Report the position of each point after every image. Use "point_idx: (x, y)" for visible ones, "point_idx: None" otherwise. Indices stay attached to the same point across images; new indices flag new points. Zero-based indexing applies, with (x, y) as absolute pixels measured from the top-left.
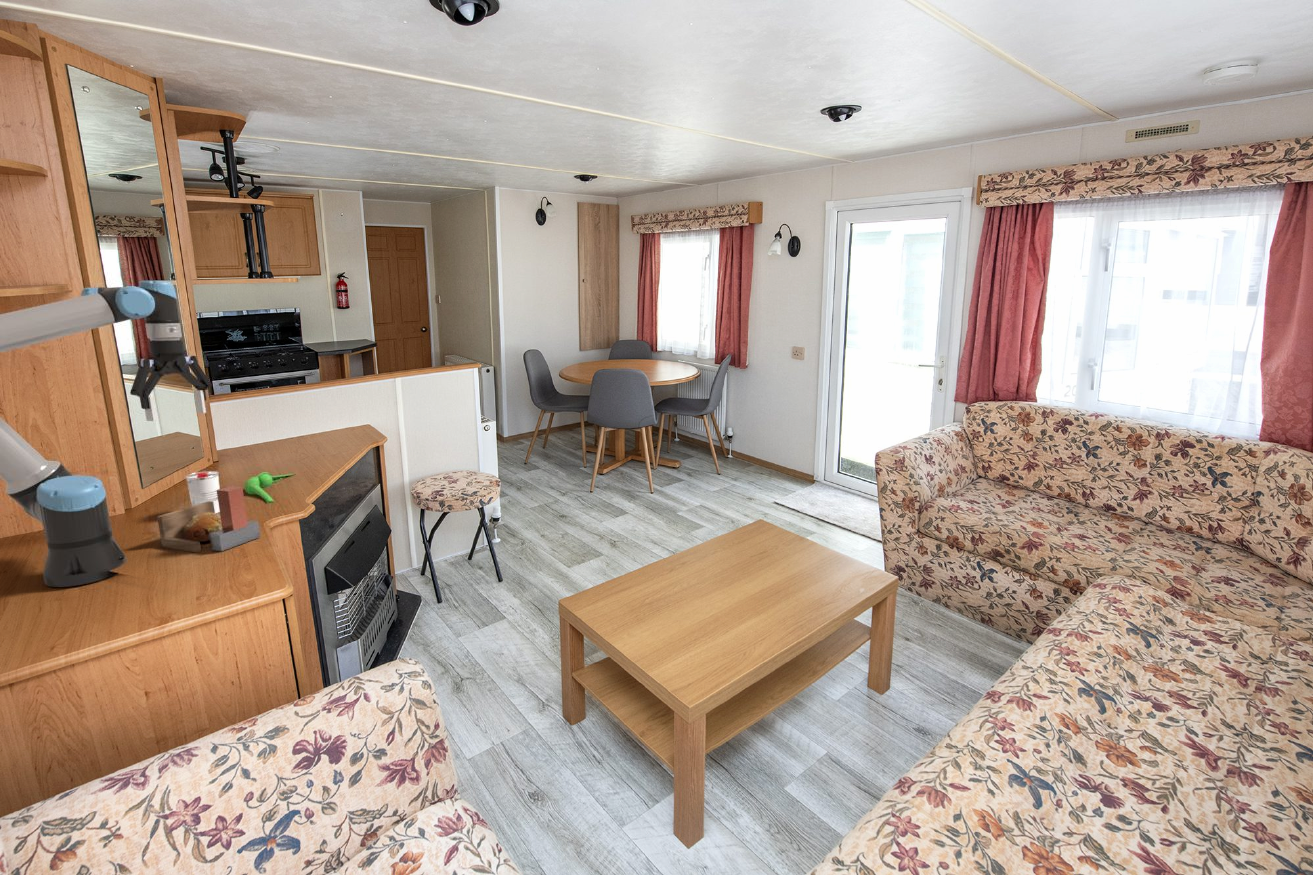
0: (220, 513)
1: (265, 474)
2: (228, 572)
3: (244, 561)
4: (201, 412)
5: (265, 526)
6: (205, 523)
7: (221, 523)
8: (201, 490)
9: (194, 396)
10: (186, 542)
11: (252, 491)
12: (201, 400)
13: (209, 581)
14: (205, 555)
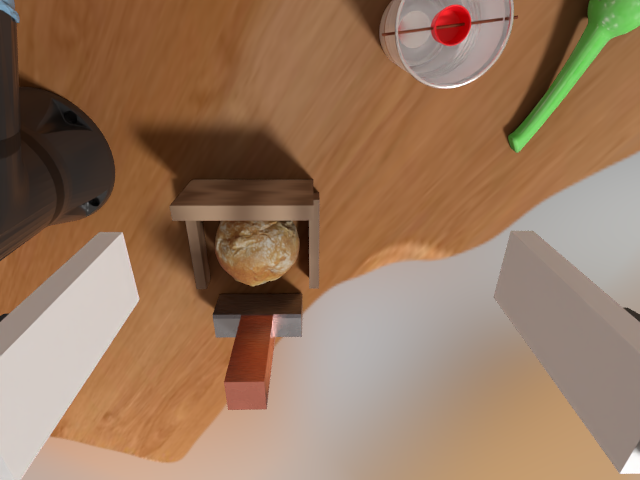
0: (235, 340)
1: None
2: (174, 385)
3: (213, 373)
4: (501, 281)
5: (357, 272)
6: (236, 278)
7: (239, 323)
8: (400, 63)
9: (604, 326)
10: (193, 267)
11: (588, 22)
12: (551, 370)
13: (142, 388)
14: (200, 303)
